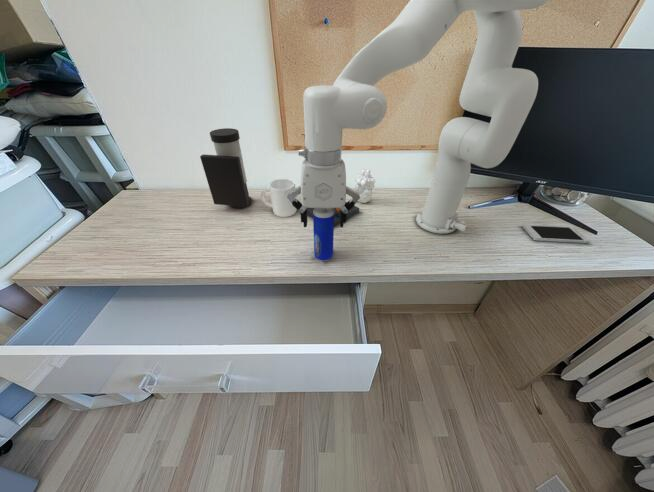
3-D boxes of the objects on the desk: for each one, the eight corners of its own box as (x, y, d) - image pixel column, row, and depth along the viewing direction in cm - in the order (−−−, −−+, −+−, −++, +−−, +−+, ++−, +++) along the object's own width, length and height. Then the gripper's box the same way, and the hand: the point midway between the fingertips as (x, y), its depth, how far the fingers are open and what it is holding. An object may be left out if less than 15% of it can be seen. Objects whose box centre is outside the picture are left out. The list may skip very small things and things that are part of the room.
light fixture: (260, 199, 97) (248, 129, 81) (248, 214, 88) (232, 139, 73) (230, 196, 98) (212, 127, 83) (216, 211, 90) (193, 137, 74)
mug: (259, 216, 87) (254, 188, 81) (267, 204, 94) (262, 177, 87) (294, 218, 86) (291, 190, 80) (299, 206, 93) (297, 179, 86)
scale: (359, 213, 89) (360, 204, 87) (331, 229, 81) (332, 219, 79) (326, 197, 98) (326, 188, 96) (298, 210, 90) (297, 201, 88)
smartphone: (521, 227, 83) (523, 224, 82) (572, 229, 82) (573, 227, 81) (534, 240, 77) (535, 237, 77) (588, 243, 76) (590, 240, 76)
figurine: (363, 208, 92) (366, 176, 84) (349, 201, 96) (351, 170, 88) (375, 202, 96) (379, 170, 88) (361, 195, 99) (364, 165, 92)
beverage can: (312, 252, 72) (310, 205, 63) (329, 248, 74) (330, 202, 64) (317, 263, 69) (316, 215, 59) (335, 260, 70) (337, 212, 60)
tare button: (346, 209, 85) (346, 205, 84) (340, 212, 83) (340, 208, 82) (340, 206, 87) (340, 202, 86) (333, 209, 85) (334, 205, 84)
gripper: (279, 161, 51) (287, 232, 62) (367, 162, 51) (359, 233, 62) (284, 149, 57) (290, 216, 67) (362, 149, 57) (356, 216, 68)
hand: (323, 224), depth 65 cm, fingers open, 8 cm apart
